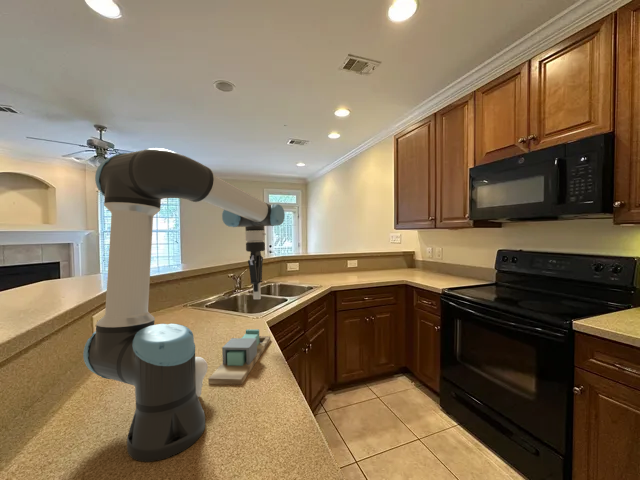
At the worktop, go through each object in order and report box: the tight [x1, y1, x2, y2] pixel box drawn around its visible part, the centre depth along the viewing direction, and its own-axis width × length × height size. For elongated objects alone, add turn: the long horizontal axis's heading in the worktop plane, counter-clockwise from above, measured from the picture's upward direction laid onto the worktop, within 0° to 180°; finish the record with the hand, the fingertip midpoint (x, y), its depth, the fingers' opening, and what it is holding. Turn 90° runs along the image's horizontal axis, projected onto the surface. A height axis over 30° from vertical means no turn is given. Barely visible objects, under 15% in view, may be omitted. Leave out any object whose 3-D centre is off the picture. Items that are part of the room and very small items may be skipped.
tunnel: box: [221, 337, 257, 365], centre depth 96 cm, size 8×9×6 cm
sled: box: [227, 328, 260, 366], centre depth 101 cm, size 19×5×5 cm, turn 176°
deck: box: [208, 335, 272, 386], centre depth 100 cm, size 34×10×2 cm, turn 176°
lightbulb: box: [195, 356, 209, 398], centre depth 77 cm, size 6×6×11 cm
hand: (257, 298), depth 116 cm, fingers closed
